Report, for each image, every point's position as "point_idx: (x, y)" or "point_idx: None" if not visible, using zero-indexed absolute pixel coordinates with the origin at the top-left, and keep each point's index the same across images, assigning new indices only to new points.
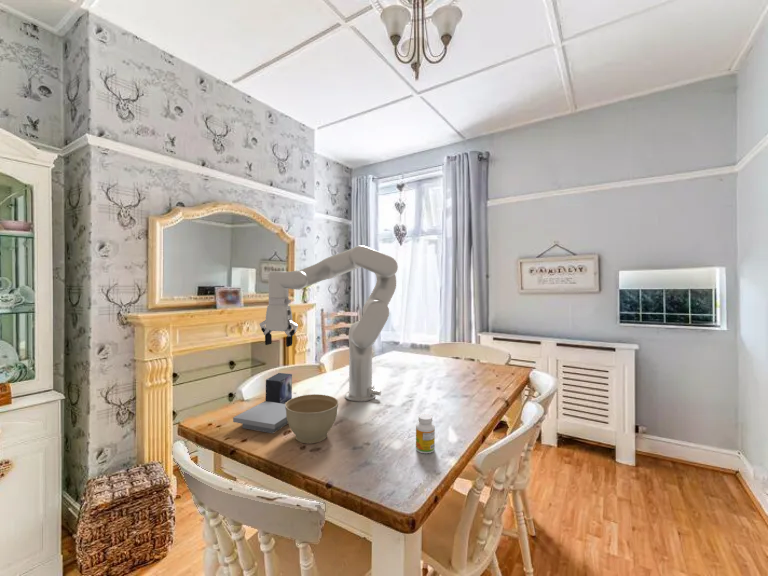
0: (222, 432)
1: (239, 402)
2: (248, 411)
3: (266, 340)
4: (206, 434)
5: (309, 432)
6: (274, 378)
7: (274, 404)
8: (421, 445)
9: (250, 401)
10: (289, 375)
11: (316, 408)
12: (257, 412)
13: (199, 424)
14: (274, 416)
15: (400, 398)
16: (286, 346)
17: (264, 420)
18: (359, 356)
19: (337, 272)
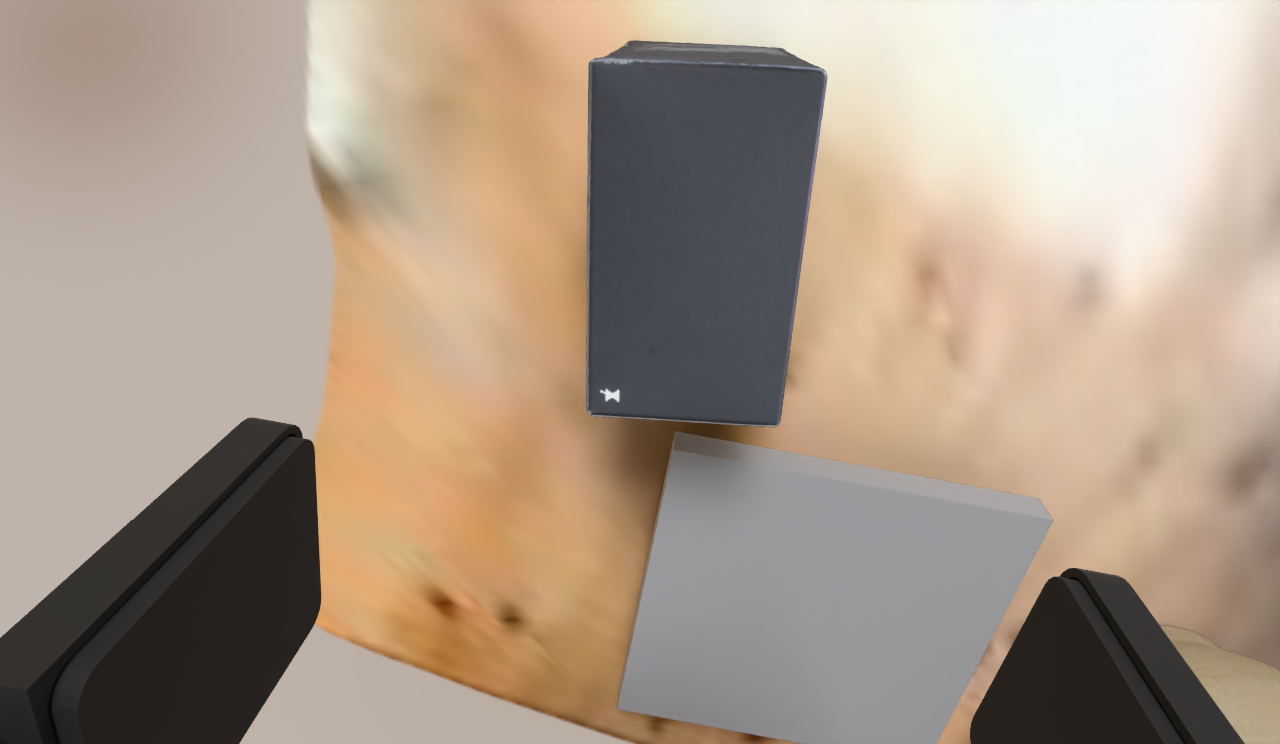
0: (587, 676)
1: (339, 245)
2: (659, 632)
3: (235, 720)
4: (521, 697)
5: None
6: (672, 360)
7: (792, 505)
8: None
9: (416, 205)
10: (813, 162)
11: (1227, 689)
12: (732, 640)
13: (385, 610)
14: (882, 682)
15: None
16: (979, 731)
17: (839, 730)
18: None
19: None
